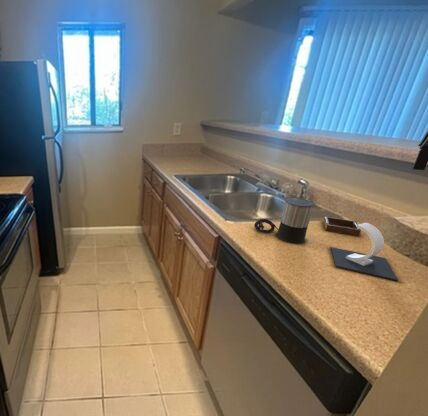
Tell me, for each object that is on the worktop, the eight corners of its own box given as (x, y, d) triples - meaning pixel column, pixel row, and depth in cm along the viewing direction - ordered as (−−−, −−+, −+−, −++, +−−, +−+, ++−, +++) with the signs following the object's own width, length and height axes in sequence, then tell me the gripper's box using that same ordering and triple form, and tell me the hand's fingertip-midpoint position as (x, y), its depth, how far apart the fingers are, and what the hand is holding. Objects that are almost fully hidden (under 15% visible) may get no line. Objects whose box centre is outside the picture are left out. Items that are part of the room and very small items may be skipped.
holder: (354, 226, 113) (356, 221, 112) (358, 236, 105) (360, 230, 104) (323, 221, 118) (325, 216, 117) (325, 230, 110) (327, 224, 109)
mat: (384, 259, 90) (385, 257, 90) (397, 281, 79) (398, 279, 79) (330, 248, 97) (331, 247, 97) (335, 267, 86) (336, 265, 86)
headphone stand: (354, 255, 91) (366, 222, 87) (376, 264, 86) (390, 230, 82) (345, 258, 90) (357, 224, 86) (367, 267, 85) (381, 232, 80)
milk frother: (310, 244, 100) (321, 206, 94) (263, 241, 102) (271, 204, 97) (291, 228, 113) (300, 193, 107) (250, 225, 115) (257, 192, 110)
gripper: (421, 102, 91) (397, 165, 99) (456, 103, 72) (423, 181, 79) (455, 102, 87) (427, 167, 95) (502, 102, 68) (463, 185, 75)
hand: (425, 174), depth 87 cm, fingers open, 13 cm apart
